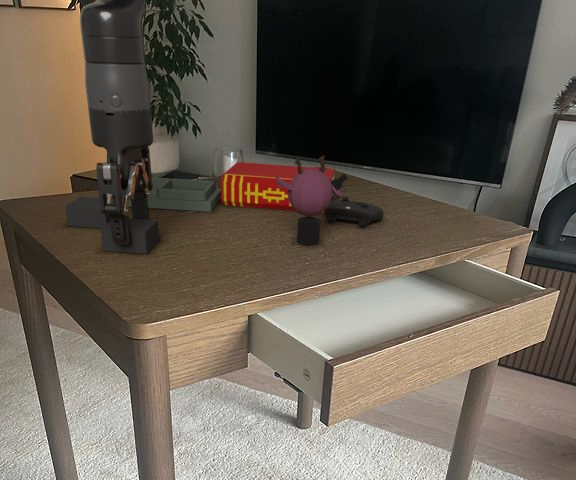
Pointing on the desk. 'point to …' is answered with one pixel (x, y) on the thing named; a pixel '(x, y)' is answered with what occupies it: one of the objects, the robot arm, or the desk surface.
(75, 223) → the pad
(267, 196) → the book
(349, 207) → the game controller
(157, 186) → the divided tray
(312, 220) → the figurine
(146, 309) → the desk surface
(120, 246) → the pad
